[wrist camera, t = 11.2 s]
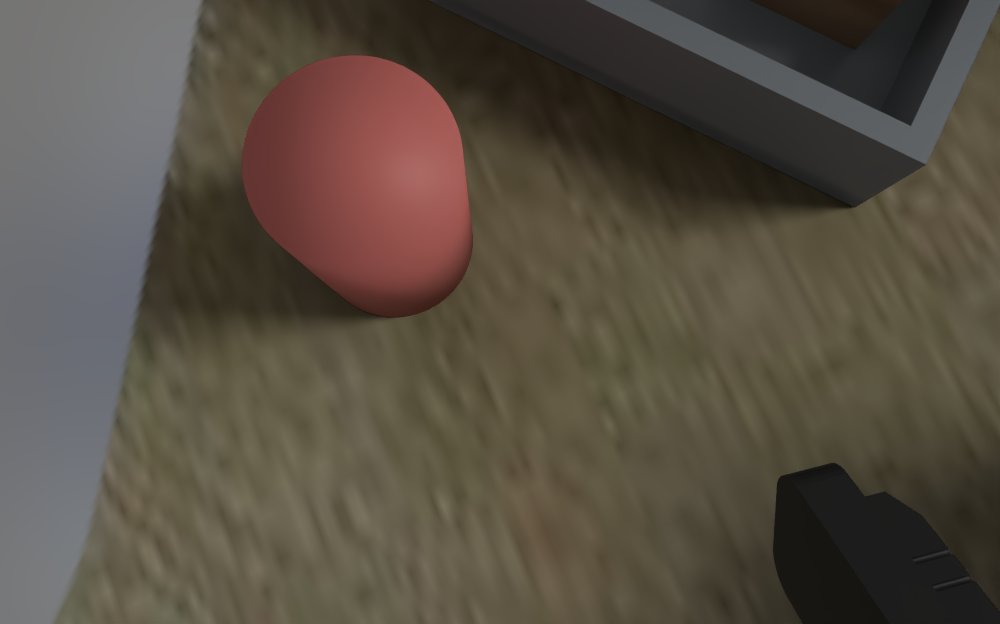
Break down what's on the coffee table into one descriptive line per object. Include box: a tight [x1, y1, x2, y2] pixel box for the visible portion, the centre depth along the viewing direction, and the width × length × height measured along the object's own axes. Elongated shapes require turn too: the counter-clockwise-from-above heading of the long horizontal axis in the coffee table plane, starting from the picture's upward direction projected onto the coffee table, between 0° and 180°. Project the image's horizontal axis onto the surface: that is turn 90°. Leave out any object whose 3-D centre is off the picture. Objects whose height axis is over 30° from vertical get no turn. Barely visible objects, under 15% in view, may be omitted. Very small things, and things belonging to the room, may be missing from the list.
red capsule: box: [242, 55, 473, 317], centre depth 25 cm, size 5×5×9 cm
